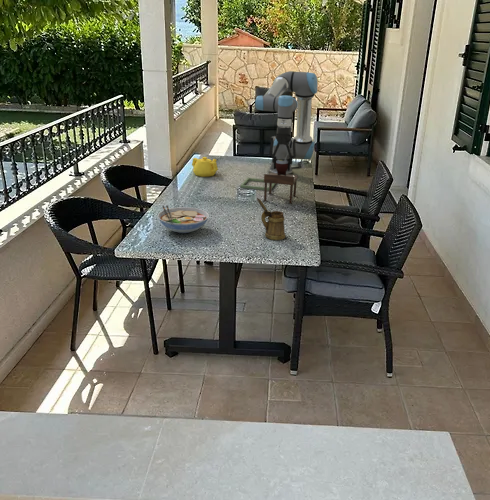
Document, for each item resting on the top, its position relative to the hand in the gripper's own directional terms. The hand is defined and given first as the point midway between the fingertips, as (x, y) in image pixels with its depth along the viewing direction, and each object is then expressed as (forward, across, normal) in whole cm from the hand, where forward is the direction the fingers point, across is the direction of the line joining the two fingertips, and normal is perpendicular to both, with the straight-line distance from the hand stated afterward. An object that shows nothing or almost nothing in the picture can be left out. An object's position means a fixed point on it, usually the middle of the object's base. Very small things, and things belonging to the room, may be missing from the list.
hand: (281, 169), depth 274 cm
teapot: (+17, -54, +36) cm, 67 cm away
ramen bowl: (+17, -33, -63) cm, 73 cm away
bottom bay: (+16, -17, +22) cm, 32 cm away
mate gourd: (+3, 0, 0) cm, 3 cm away
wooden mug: (+17, +6, -58) cm, 61 cm away
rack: (+16, 0, 0) cm, 16 cm away
